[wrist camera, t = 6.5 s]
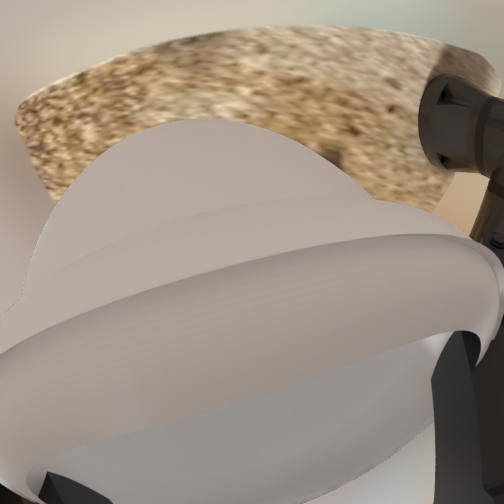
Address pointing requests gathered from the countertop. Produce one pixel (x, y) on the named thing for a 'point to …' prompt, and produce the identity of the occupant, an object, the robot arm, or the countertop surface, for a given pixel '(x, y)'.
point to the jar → (229, 323)
